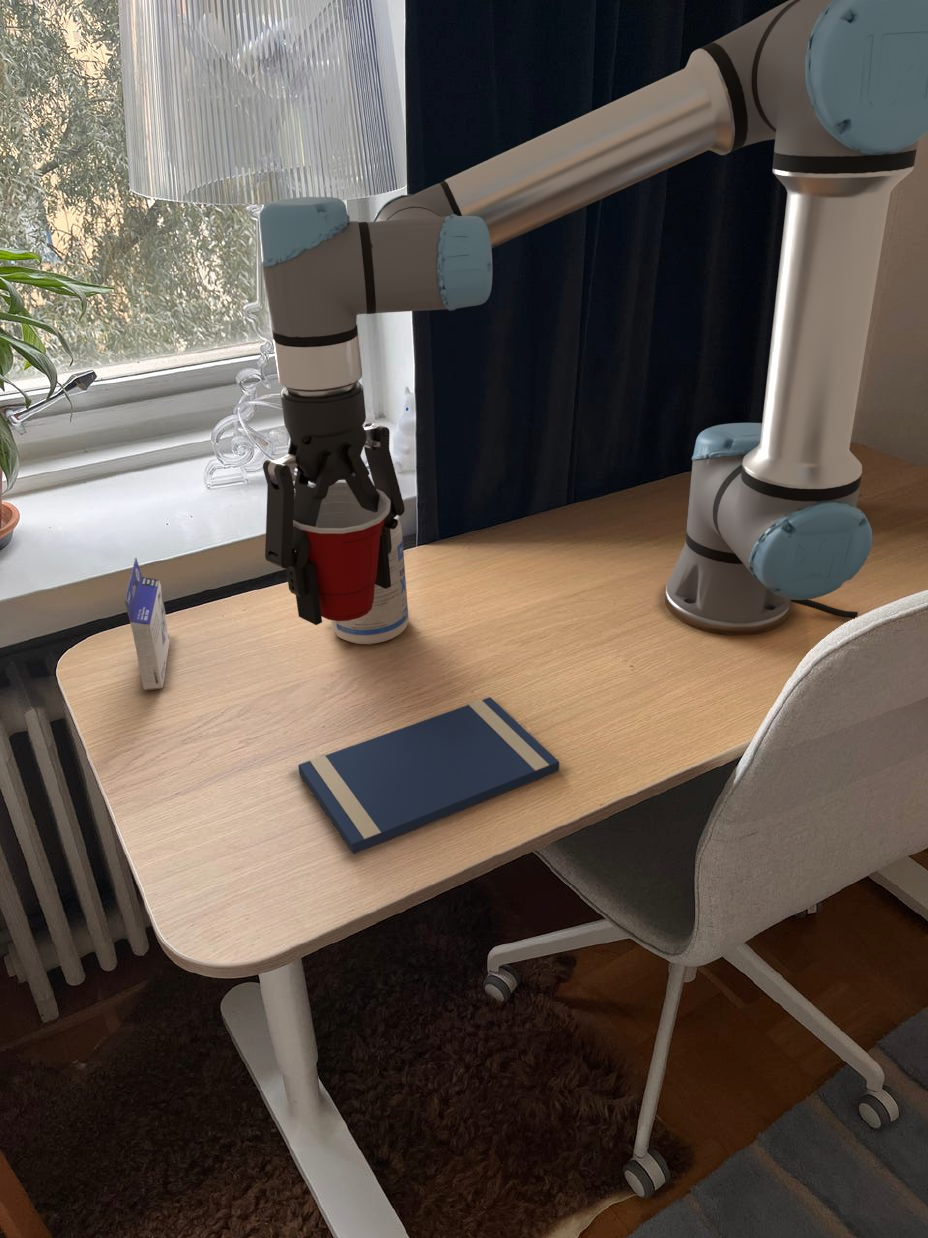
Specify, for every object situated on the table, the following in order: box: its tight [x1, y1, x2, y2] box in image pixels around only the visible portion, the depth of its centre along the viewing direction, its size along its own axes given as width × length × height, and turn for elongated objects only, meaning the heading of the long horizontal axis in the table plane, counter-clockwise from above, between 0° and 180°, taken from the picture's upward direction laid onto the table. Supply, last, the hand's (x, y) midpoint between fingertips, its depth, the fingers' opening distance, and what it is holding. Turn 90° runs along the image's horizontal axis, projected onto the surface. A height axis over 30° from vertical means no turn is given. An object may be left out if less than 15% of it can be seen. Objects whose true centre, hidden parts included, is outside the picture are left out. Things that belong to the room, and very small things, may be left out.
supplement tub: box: [330, 515, 409, 645], centre depth 116 cm, size 10×10×15 cm
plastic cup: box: [293, 481, 391, 621], centre depth 96 cm, size 11×11×12 cm
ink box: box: [124, 557, 171, 691], centre depth 110 cm, size 12×2×12 cm, turn 11°
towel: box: [297, 696, 560, 855], centre depth 94 cm, size 22×13×1 cm, turn 120°
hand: (346, 601), depth 99 cm, fingers closed on plastic cup, 9 cm apart
